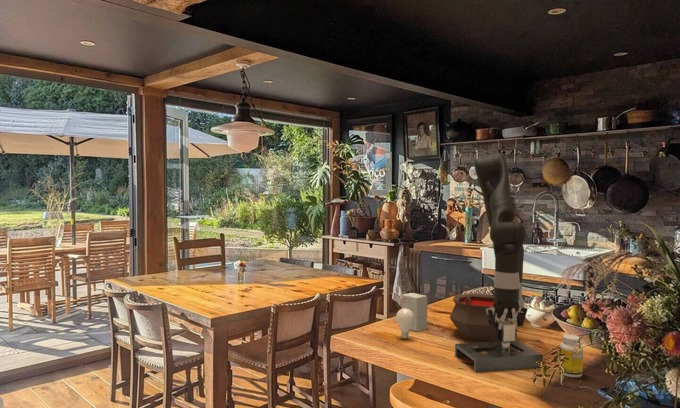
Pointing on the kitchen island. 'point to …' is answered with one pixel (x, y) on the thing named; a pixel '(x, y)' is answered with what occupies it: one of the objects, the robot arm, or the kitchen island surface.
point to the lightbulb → (405, 321)
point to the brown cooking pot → (474, 316)
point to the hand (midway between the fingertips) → (505, 339)
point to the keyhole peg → (507, 335)
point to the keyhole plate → (499, 356)
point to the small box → (416, 310)
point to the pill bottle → (571, 356)
